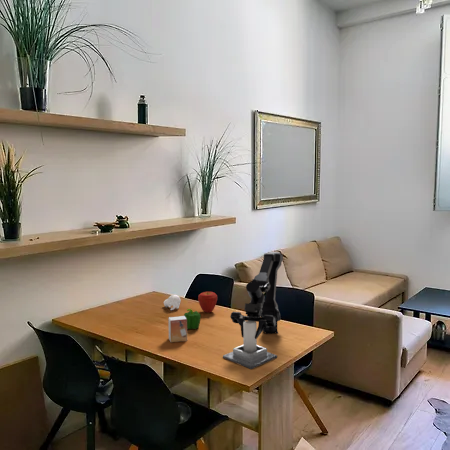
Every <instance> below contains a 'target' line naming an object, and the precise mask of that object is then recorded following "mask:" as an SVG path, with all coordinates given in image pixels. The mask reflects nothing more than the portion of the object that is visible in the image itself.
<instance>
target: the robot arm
mask: <svg viewBox="0 0 450 450" xmlns="http://www.w3.org/2000/svg"><path fill="white" fill-rule="evenodd" d="M283 260H284V255H283V254H282V253H281V252H280V251H267V252H265V253H263V260H262V263H261V266H260V269H259V272H258V274H257V275H255V276H254V277H253V278H252V279H251V281H249V282H248V283H247V284H246V285H245V286H246V287H245V288H246V289H245V290H246V291H247V294H248V297H249V298H250V301H249V303H244V312H245V315H243V313H242V312H239V311H232V312H231V313H230V320H232V322H233V323H234V324H238V326H240V333H241V335H240V336H241V337H242V338H243V322H245V321H255V322H256V323H257V332H256V336H255V339H258V338H259V336H260V335H261V334H262V333H263V332H264V334H266V335H267V334H270V335H271V334H279V331H278V322H279V321H281V313H280V310H279V305H278V303H277V301H276V293H277V292H276V291H277V280H278V270H279V269H280V267H281V266H282V262H283ZM264 293H265V294H264Z"/></svg>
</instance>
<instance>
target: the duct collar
mask: <svg viewBox="0 0 450 450" xmlns="http://www.w3.org/2000/svg"><path fill="white" fill-rule="evenodd" d="M222 358H223V359H225V360H226V361H230V362H233V363H235V364H236V365H239V366H242V367H244V368H247V369H250V370H253V369H255V368H257V367H259V366H261V365H264V364H266V363H268V362H270V361H273V360H275V359H277V358H278V355H277V354H274V353H272V352H269V351H268V348H266V347H263V346H262V345H261V346H260V345H258V344H257V351H256V352H254V353H251V354H250V353H247V352H244V350H243V344H241V345H239V346H236V347H234V348H233V349H232V351H231V352H228V353H226V354H223V355H222Z"/></svg>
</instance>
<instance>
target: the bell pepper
mask: <svg viewBox="0 0 450 450" xmlns="http://www.w3.org/2000/svg"><path fill="white" fill-rule="evenodd" d="M186 310H187V312H184V314H183V316H185V317H186V319H187V330H197V329H198V328H199V327H200V324H201V319H202V318H201V317H202V316H201V313H200V312H198V311H197V310H195V311H194V310H193V309H192V308H187V309H186Z"/></svg>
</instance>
